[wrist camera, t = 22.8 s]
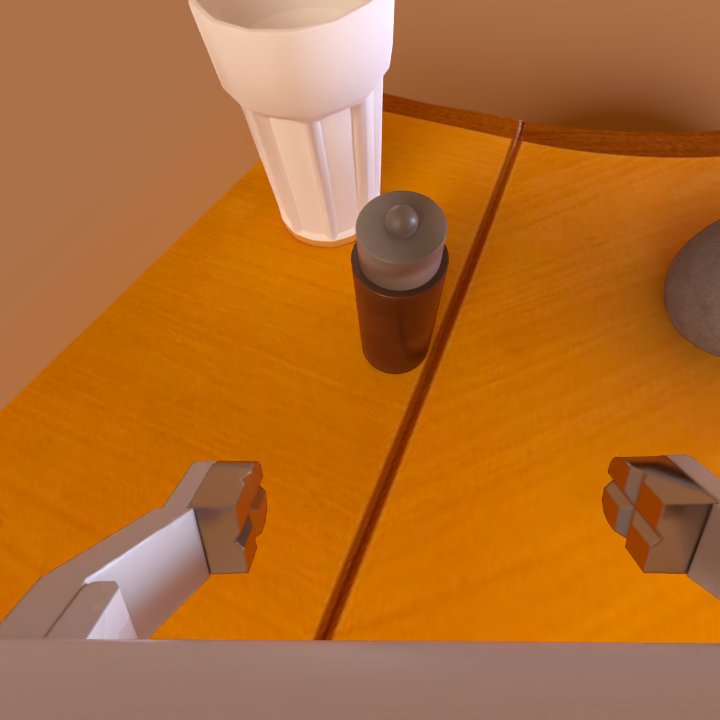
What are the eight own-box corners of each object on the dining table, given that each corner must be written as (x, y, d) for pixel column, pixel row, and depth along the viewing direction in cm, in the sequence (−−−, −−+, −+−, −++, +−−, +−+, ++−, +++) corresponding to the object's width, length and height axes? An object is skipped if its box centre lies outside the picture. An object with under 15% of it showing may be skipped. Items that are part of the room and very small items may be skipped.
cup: (372, 270, 35) (360, 47, 19) (250, 243, 36) (144, 19, 20) (406, 173, 39) (420, -80, 22) (295, 153, 40) (235, -94, 24)
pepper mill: (363, 376, 31) (347, 261, 18) (360, 316, 33) (343, 172, 20) (432, 371, 31) (468, 252, 18) (424, 311, 33) (451, 163, 20)
